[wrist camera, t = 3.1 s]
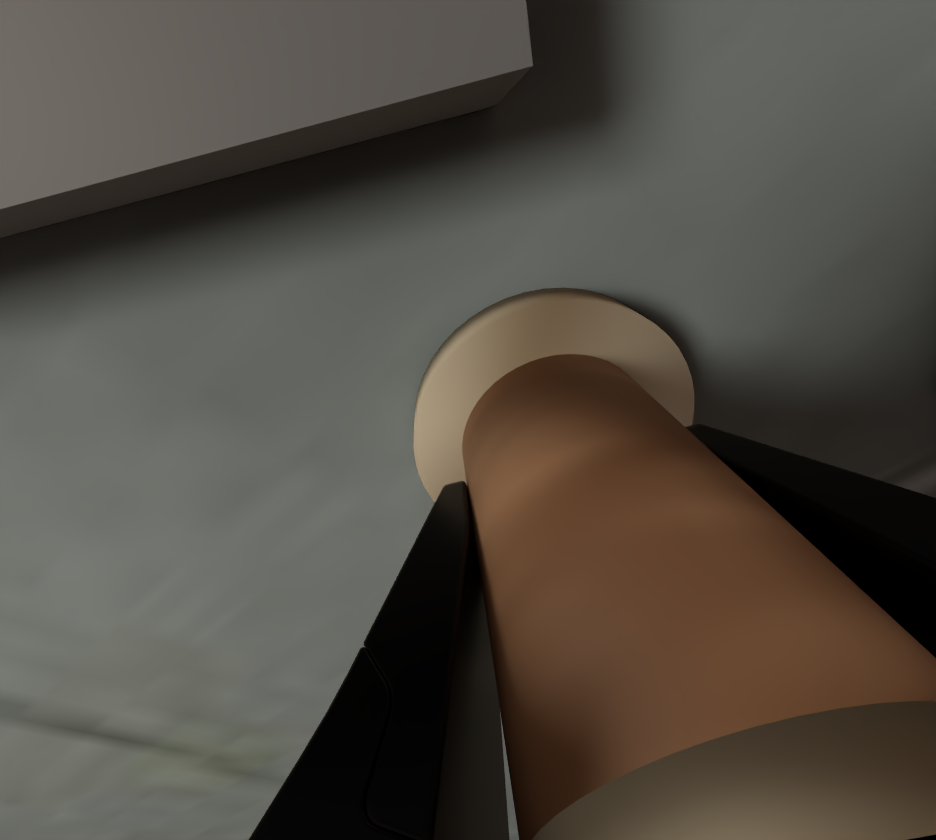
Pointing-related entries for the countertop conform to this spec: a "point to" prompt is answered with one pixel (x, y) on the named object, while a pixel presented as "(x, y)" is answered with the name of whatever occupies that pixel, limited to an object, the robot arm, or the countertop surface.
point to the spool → (661, 602)
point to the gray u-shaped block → (226, 88)
